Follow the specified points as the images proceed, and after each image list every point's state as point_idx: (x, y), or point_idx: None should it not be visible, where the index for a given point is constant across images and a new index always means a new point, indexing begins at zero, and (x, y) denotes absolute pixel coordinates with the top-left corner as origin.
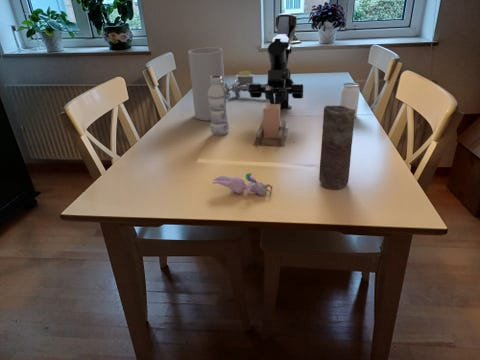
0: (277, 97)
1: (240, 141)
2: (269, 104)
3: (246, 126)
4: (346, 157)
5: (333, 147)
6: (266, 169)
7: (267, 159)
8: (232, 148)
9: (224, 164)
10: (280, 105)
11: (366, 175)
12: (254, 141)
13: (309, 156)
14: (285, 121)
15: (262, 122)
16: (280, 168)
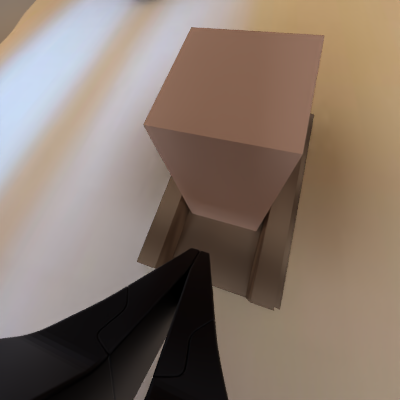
0: (91, 349)
1: (369, 177)
2: (255, 130)
3: (367, 390)
4: None
5: None
6: (270, 18)
7: None
8: (391, 121)
9: (392, 34)
10: (148, 131)
11: (86, 9)
12: (308, 143)
13: (153, 67)
14: (145, 242)
15: (279, 248)
16: (237, 23)
